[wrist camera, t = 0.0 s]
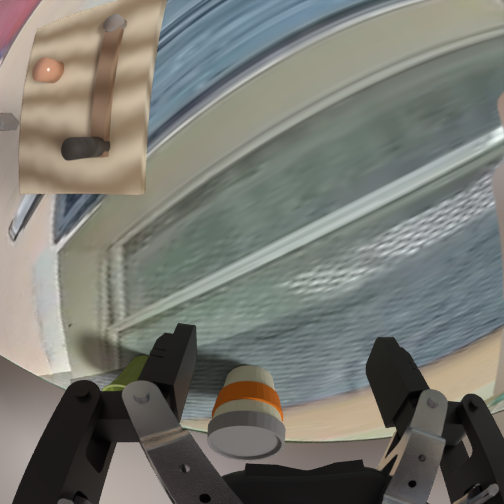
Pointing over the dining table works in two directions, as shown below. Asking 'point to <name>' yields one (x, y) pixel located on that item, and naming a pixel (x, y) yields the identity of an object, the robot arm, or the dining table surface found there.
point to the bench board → (90, 102)
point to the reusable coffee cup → (247, 416)
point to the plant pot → (128, 374)
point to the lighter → (8, 122)
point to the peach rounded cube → (48, 70)
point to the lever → (100, 97)
